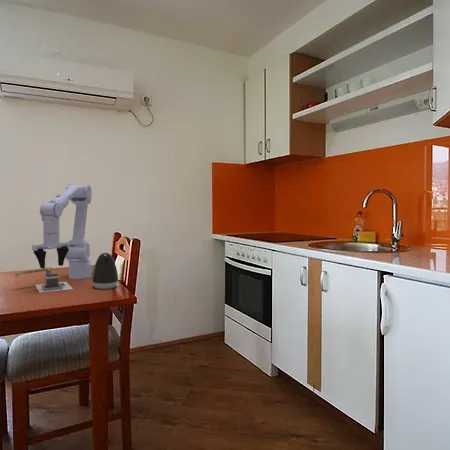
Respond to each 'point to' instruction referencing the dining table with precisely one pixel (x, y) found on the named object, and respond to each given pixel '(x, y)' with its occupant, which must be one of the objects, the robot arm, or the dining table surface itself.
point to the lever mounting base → (43, 287)
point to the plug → (51, 280)
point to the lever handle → (31, 271)
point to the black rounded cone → (105, 272)
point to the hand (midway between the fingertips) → (51, 266)
